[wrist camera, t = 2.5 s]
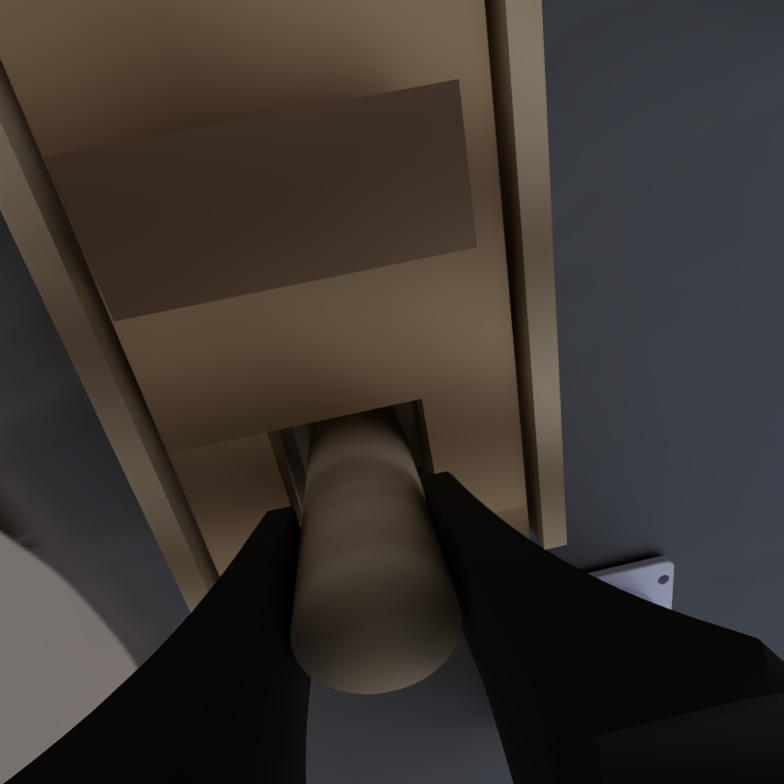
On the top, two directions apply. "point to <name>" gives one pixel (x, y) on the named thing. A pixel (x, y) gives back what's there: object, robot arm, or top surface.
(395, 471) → the pin
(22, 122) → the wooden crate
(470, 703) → the top surface
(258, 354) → the lid
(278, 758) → the robot arm
